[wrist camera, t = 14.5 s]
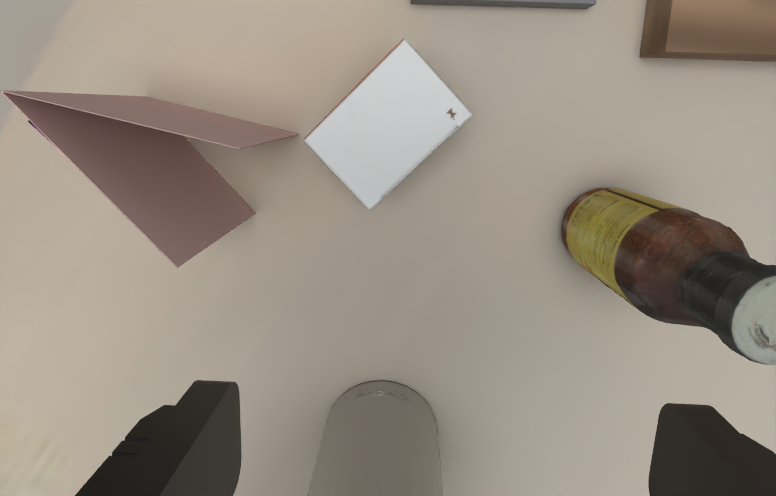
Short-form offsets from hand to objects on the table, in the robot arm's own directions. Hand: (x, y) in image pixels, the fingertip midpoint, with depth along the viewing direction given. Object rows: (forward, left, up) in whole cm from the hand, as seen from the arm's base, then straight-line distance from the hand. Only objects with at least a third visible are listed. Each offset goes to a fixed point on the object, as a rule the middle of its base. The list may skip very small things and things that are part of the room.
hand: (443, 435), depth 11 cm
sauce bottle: (-2, -14, -32) cm, 35 cm away
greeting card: (+4, +14, -32) cm, 35 cm away
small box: (+5, +2, -32) cm, 33 cm away
